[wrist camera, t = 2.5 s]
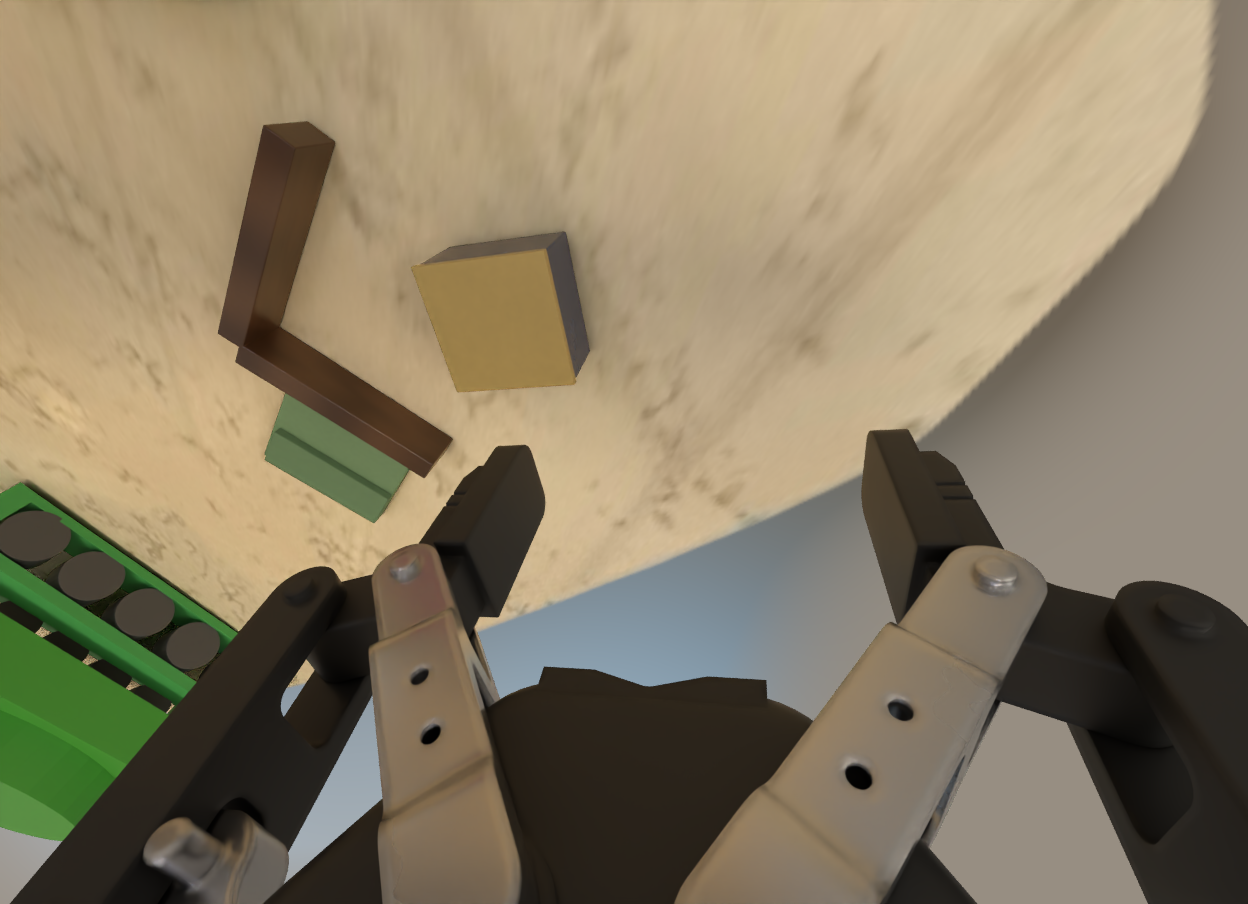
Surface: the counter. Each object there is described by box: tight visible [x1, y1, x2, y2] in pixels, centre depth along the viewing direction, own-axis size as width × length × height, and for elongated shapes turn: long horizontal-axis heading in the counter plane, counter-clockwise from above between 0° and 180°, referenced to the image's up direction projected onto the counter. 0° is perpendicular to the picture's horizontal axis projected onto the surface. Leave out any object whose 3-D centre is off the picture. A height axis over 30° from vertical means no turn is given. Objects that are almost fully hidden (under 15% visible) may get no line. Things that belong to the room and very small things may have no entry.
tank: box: [0, 482, 238, 841], centre depth 49 cm, size 24×35×16 cm
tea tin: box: [411, 232, 590, 392], centre depth 27 cm, size 7×7×4 cm
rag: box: [265, 393, 409, 523], centre depth 37 cm, size 9×7×1 cm
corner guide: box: [218, 121, 453, 478], centre depth 30 cm, size 10×19×3 cm, turn 9°
